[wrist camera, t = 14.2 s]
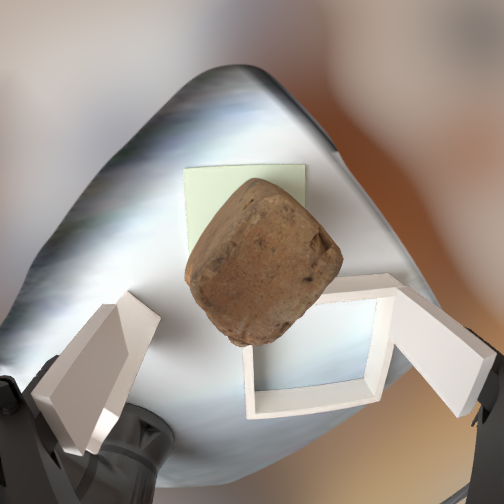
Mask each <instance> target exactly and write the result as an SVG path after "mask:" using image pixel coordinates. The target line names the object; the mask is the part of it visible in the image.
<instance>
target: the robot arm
mask: <svg viewBox="0 0 504 504" xmlns="http://www.w3.org/2000/svg"><path fill="white" fill-rule="evenodd" d="M388 337H389V338H390V339H391V340H392V342H393V343H394V344H395V345H396V346H397V347H398V348H399V350H400V351H401V352H402V353H403V354H404V355H405V356H406V358H407V359H408V360H409V361H410V362H411V363H412V364H413V366H414V367H415V368H416V369H417V370H418V371H419V372H420V374H421V375H422V376H423V377H424V378H425V380H426V381H427V382H428V383H429V384H430V386H431V387H432V388H433V389H434V390H435V392H436V393H437V394H438V395H439V396H440V398H441V399H442V400H443V401H444V402H445V404H446V405H447V406H448V407H449V408H450V409H451V411H452V412H453V413H454V415H455V416H456V417H457V418H460V417H462V416H464V415H466V414H469V413H471V412H472V410H473V408H474V406H475V404H476V401H477V400H478V401H479V402H480V403H481V407H480V409H479V411H478V413H477V415H476V417H475V419H474V420H473V422H472V425H471V426H474V424H475V423H476V422H477V421H478V425H477V437H476V446H475V454H474V461H473V469H472V474H471V480H470V485H469V490H468V494H467V499H466V503H465V504H504V356H503V355H502V354H501V353H500V352H499V351H497V350H496V349H495V348H494V347H492V346H491V345H490V344H489V343H487V342H486V341H484V340H483V339H482V338H481V337H478V335H477V334H475V333H474V332H473V331H472V330H471V329H468V328H466V327H464V326H462V325H461V324H459V323H458V322H457V321H455V320H454V319H453V318H451V317H450V316H449V315H447V314H446V313H445V312H443V311H442V310H441V309H439V308H438V307H437V306H435V305H434V304H433V303H431V302H430V301H428V300H427V299H426V298H424V297H423V296H422V295H420V294H419V293H417V292H416V291H415V290H413V289H412V288H410V287H409V286H406V287H398V288H396V292H395V299H394V305H393V312H392V318H391V323H390V329H389V334H388ZM128 355H129V353H128V350H127V346H126V342H125V338H124V334H123V330H122V325H121V321H120V316H119V312H118V307H117V304H102V305H101V307H100V308H99V309H98V310H97V311H96V312H95V313H94V315H93V316H92V317H91V318H90V319H89V321H88V322H87V323H86V324H85V325H84V326H83V328H82V329H81V330H80V331H79V332H78V334H77V335H76V336H75V337H74V338H73V340H72V341H71V342H70V343H69V345H68V346H67V347H66V348H65V350H64V351H63V352H62V353H61V355H56V356H54V357H53V358H51V359H50V360H48V361H47V362H46V363H45V364H44V366H43V367H42V368H41V371H39V372H38V373H37V374H36V377H34V378H33V379H32V381H31V382H30V383H29V385H28V386H27V387H26V388H25V390H24V391H23V392H22V394H21V392H20V390H19V388H18V386H17V383H16V381H15V379H14V378H13V377H11V376H6V375H3V376H0V504H152V502H153V496H154V490H155V484H156V479H157V474H158V471H159V469H160V468H161V467H162V465H163V464H164V462H165V461H166V459H167V458H168V456H169V455H170V453H171V451H172V448H173V442H174V436H173V433H172V431H171V429H170V427H169V426H168V425H167V424H166V423H165V422H164V421H163V420H162V419H161V418H159V417H158V416H157V415H155V414H153V413H152V412H150V411H148V410H146V409H143V408H141V407H138V406H135V405H131V404H127V403H125V405H124V407H123V410H122V412H121V415H120V417H119V419H118V421H117V422H116V424H115V425H114V427H113V428H112V429H111V431H110V432H109V434H108V435H107V437H106V438H105V440H104V441H103V442H102V444H101V447H100V450H99V452H98V453H97V454H93V453H91V452H89V451H88V450H86V448H87V445H88V443H89V440H90V438H91V436H92V433H93V431H94V429H95V426H96V424H97V422H98V420H99V417H100V415H101V413H102V411H103V408H104V406H105V404H106V402H107V400H108V397H109V395H110V393H111V391H112V389H113V387H114V384H115V382H116V380H117V378H118V376H119V374H120V372H121V370H122V368H123V366H124V364H125V362H126V360H127V357H128Z"/></svg>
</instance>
